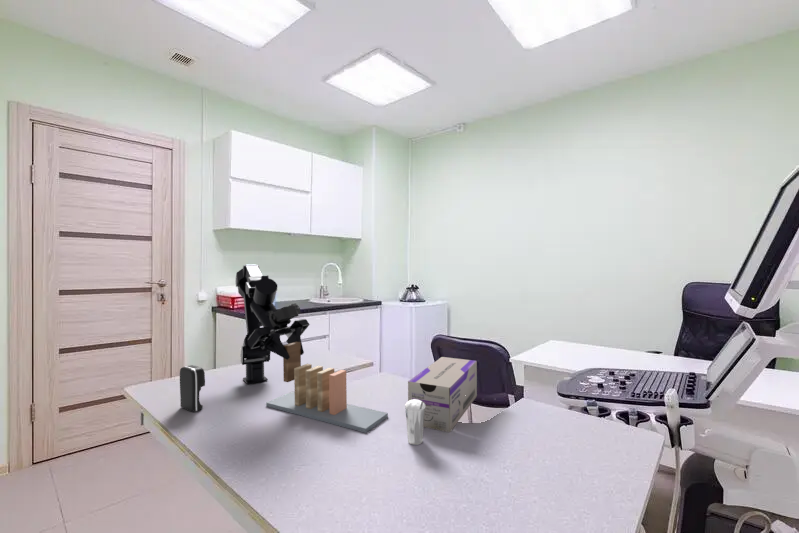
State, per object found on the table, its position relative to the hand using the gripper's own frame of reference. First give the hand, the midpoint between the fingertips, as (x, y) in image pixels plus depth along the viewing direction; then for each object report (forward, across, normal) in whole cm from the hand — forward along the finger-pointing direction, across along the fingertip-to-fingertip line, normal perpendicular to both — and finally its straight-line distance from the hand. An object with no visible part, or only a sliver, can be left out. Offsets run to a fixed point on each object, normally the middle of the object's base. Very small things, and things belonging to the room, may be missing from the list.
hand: (295, 356), depth 105 cm
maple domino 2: (+14, 0, +4) cm, 14 cm away
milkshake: (+37, -3, -18) cm, 41 cm away
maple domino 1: (+11, 0, +7) cm, 13 cm away
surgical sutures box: (+36, +17, -17) cm, 44 cm away
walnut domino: (+4, 0, +6) cm, 7 cm away
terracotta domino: (+19, 0, -2) cm, 19 cm away
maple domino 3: (+16, 0, +1) cm, 16 cm away
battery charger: (-6, -15, +26) cm, 31 cm away
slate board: (+17, 0, +2) cm, 17 cm away
